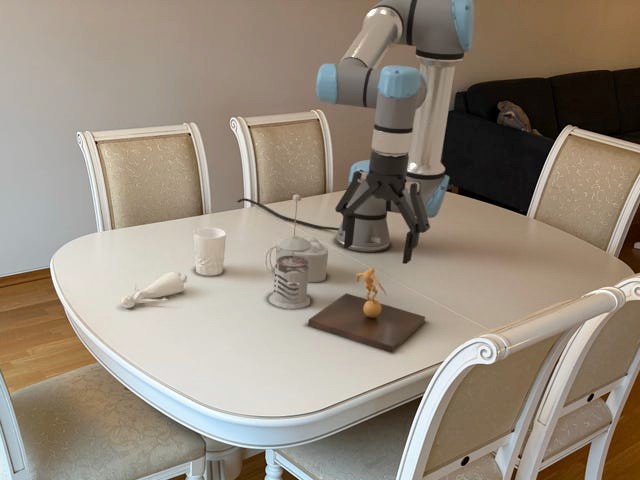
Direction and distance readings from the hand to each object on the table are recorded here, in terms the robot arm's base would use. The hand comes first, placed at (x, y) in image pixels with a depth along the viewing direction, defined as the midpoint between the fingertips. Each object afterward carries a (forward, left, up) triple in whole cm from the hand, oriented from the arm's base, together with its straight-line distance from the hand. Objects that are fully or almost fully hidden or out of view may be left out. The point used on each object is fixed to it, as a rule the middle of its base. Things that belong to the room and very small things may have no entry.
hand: (376, 254), depth 148 cm
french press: (-21, 0, -17) cm, 27 cm away
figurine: (0, 0, -15) cm, 15 cm away
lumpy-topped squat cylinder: (-26, +16, -17) cm, 34 cm away
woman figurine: (-45, -19, -17) cm, 52 cm away
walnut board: (0, 0, -16) cm, 16 cm away
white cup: (-45, +2, -17) cm, 48 cm away
